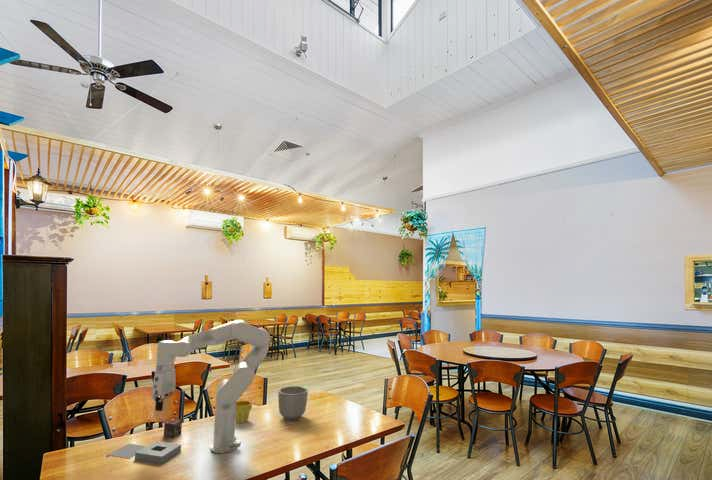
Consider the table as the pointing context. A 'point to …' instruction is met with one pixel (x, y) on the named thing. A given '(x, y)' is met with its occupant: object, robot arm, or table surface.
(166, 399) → the plug
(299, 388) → the planter
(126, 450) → the mat
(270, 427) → the table surface
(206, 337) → the robot arm
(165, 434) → the box
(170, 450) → the socket block
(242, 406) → the plant pot
